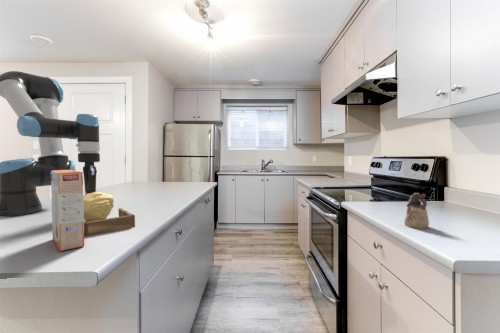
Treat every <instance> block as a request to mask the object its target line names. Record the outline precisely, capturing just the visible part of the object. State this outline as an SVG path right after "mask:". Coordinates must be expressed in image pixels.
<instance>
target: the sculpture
mask: <svg viewBox="0 0 500 333" xmlns="http://www.w3.org/2000/svg"><path fill="white" fill-rule="evenodd" d="M114 205H115V204H114V196H113V195H112V194H110V193H109V194H108V193H105V192H102V191H96V192H93V193H87V194H86V195H85V194H84V195H83V210H84V220H85V221H86V222H90V221H96V220H102V219H107V218H108V217H109V215H110V213H111V212H112V209H113V208H114Z"/></svg>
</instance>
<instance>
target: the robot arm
mask: <svg viewBox="0 0 500 333" xmlns="http://www.w3.org/2000/svg"><path fill="white" fill-rule="evenodd" d="M0 96H1V98H3V99H5V100H6V102H7V103H8V105H9V106H10V108H11V109H12V110H13V111H14V113H15V114H16V116H17V117H18V118H17V122H16V129H17V132H18V134H19V135H20V136H22V137H31V138H38V141H39V149H40V155H39V156H38V157H37V160H36V159H35V158H34V157H33V158H32V157H27V158H16V159H9V160H4V161H1V162H0V217H15V216H17V217H18V216H25V215H30V214H34V213H39V212H41V211H42V210H43V205H42V204H43V203H42V202H41V200H40V198H39V196H38V194H37V188H38V187H47V186H48V187H49V186H51V171H54V170H75V171H76V164H75V163H74V161H73V160H71V159H69V156H68V155H67V154H66V153H64V147H63V139H68V140H76V142H77V143H76V144H75V147H77V152H79V153H78V154H77V161H78V163H84V166H82V172H83V186H84V196H85V195H86V194H87V193H93V192H97V172H98V170H97V166H95V163H100V162H101V160H100V159H101V154H100V150H101V148H100V147H101V146H100V123H99V117H98V116H97V115H95V114H89V113H78V114H77V115H76V118H75V120H67V119H60V118H59V114H58V107H59V106H60V104H61V103H62V102H63V100H64V89H63V86H62V84H61V83H60V82H59V81H58V80H56V79H54V78H53V79H52V78H50V77H48V76H41V75H36V74H31V73H27V72H24V71H17V70H12V71H11V70H10V71H5V72H3V73H1V74H0Z"/></svg>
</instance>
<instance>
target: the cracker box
mask: <svg viewBox="0 0 500 333" xmlns="http://www.w3.org/2000/svg"><path fill="white" fill-rule="evenodd" d="M50 186H51V187H50V189H51V190H50V191H51V218H52V219H51V220H52V221H51V225H52V227H51V228H52V230H51V233H52V240H53V242H54V244H55V246H56V247H57V249H58V251H59V252H64V251H68V250H73V249H79V248H83V247H85V236H84V210H83V196H84V174H83V171H79V170H76V169H75V170H54V171H51V185H50Z"/></svg>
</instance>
